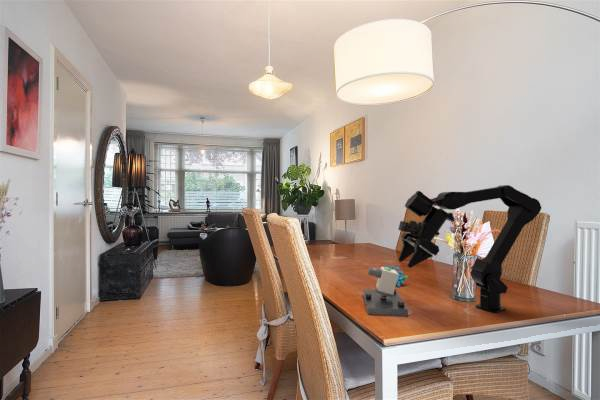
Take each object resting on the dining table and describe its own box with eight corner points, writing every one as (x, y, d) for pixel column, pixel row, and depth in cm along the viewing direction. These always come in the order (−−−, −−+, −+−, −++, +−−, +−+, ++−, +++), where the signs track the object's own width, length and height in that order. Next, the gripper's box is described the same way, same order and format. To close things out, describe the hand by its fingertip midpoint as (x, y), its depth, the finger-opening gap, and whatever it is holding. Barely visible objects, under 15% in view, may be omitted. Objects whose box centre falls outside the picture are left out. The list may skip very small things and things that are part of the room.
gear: (381, 283, 127) (380, 262, 134) (378, 290, 131) (378, 270, 138) (408, 287, 126) (407, 266, 133) (405, 295, 130) (403, 274, 137)
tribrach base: (396, 296, 116) (396, 287, 116) (408, 316, 96) (408, 305, 96) (363, 294, 117) (363, 286, 117) (368, 314, 97) (368, 304, 97)
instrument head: (391, 292, 109) (397, 269, 109) (394, 298, 103) (400, 273, 103) (364, 285, 110) (370, 261, 110) (365, 290, 104) (371, 265, 104)
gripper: (401, 209, 112) (377, 245, 112) (421, 212, 93) (391, 255, 93) (427, 227, 112) (402, 263, 112) (452, 233, 93) (422, 276, 93)
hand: (403, 263), depth 103 cm, fingers open, 9 cm apart
